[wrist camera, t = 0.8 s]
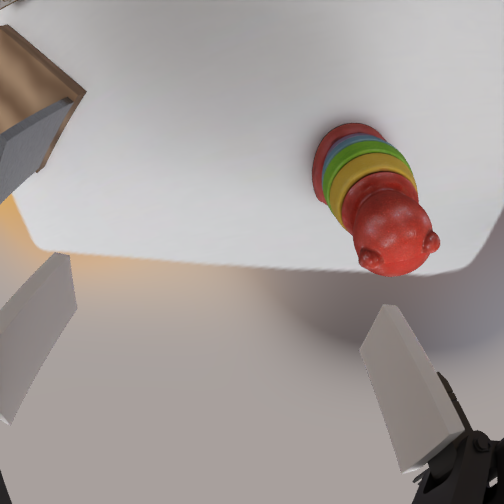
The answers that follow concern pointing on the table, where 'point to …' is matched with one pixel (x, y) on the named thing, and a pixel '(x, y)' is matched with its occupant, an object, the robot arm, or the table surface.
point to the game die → (6, 3)
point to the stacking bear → (373, 199)
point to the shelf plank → (31, 84)
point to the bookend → (28, 145)
